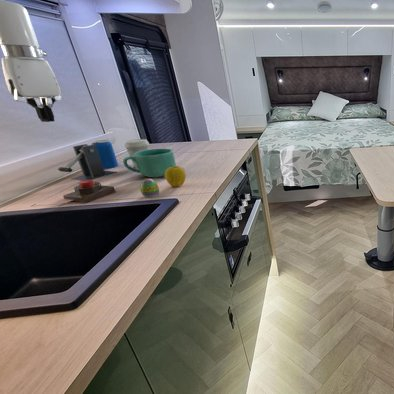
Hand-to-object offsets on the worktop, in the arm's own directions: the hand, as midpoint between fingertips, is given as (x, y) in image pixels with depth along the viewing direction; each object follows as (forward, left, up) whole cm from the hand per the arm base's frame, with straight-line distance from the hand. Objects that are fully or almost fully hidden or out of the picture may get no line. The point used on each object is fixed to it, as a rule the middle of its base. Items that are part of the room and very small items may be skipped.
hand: (48, 121), depth 87 cm
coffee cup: (+31, +6, -24) cm, 40 cm away
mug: (+23, -8, -24) cm, 34 cm away
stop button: (0, -7, -20) cm, 21 cm away
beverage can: (+27, +20, -24) cm, 41 cm away
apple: (+15, -27, -24) cm, 39 cm away
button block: (0, -7, -24) cm, 25 cm away
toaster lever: (+12, +13, -16) cm, 24 cm away
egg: (+5, -26, -24) cm, 36 cm away
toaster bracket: (+16, +13, -24) cm, 32 cm away
